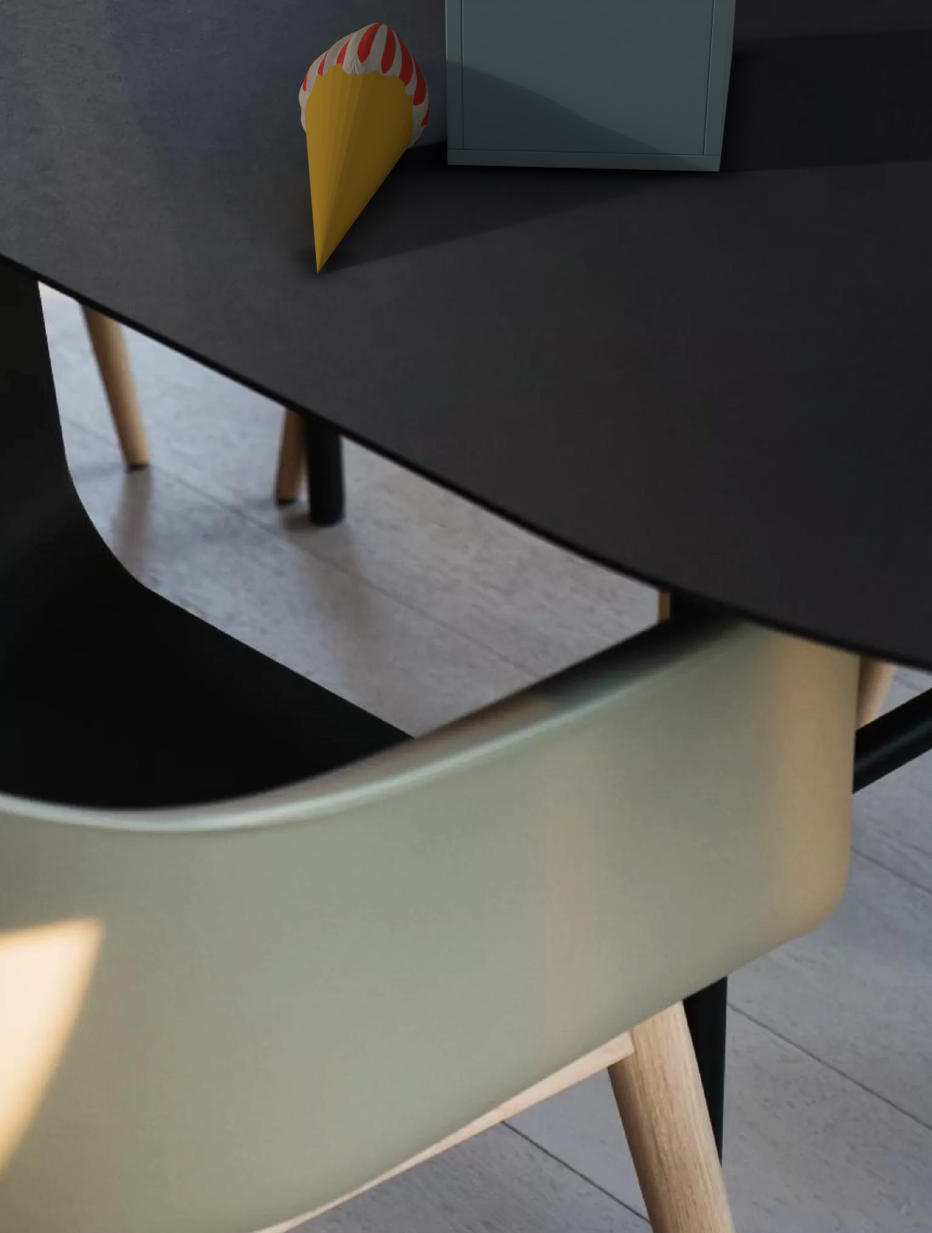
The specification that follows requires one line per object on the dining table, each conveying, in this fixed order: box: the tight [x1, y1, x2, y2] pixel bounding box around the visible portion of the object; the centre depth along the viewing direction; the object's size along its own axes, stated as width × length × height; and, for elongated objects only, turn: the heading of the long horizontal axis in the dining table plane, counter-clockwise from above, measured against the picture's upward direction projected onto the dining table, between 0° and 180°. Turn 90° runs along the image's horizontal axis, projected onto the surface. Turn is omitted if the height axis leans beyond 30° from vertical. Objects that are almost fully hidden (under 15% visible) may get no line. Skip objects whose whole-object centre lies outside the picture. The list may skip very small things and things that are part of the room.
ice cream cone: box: [298, 22, 430, 274], centre depth 108 cm, size 6×6×20 cm
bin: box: [445, 0, 737, 173], centre depth 113 cm, size 14×16×9 cm
